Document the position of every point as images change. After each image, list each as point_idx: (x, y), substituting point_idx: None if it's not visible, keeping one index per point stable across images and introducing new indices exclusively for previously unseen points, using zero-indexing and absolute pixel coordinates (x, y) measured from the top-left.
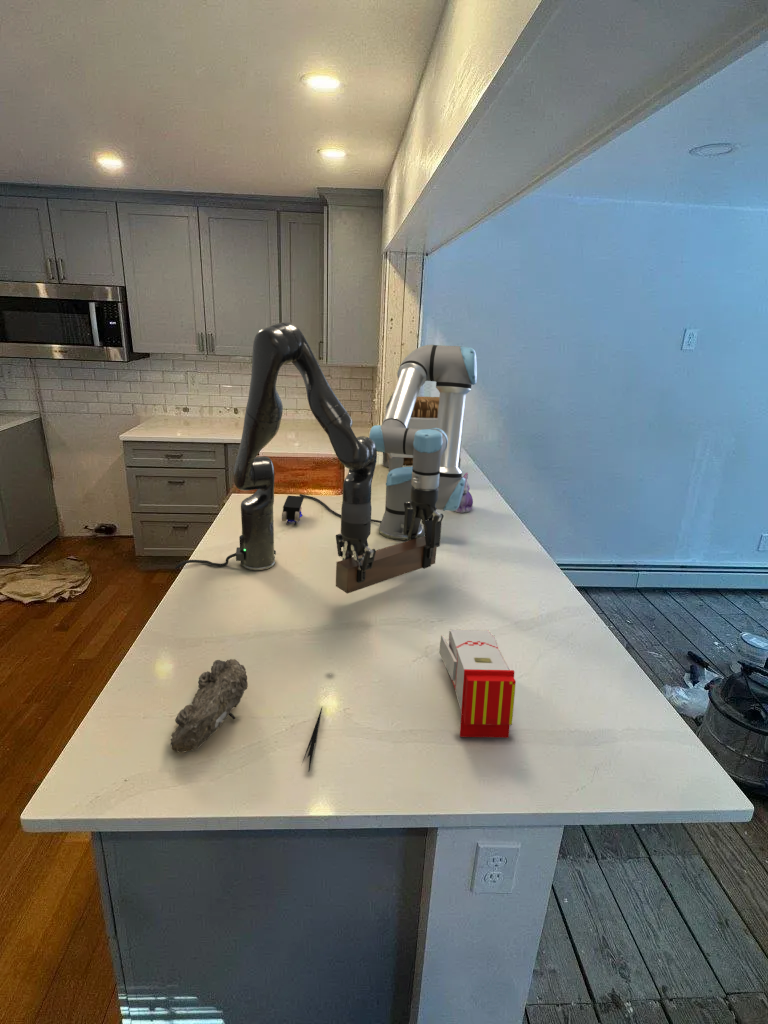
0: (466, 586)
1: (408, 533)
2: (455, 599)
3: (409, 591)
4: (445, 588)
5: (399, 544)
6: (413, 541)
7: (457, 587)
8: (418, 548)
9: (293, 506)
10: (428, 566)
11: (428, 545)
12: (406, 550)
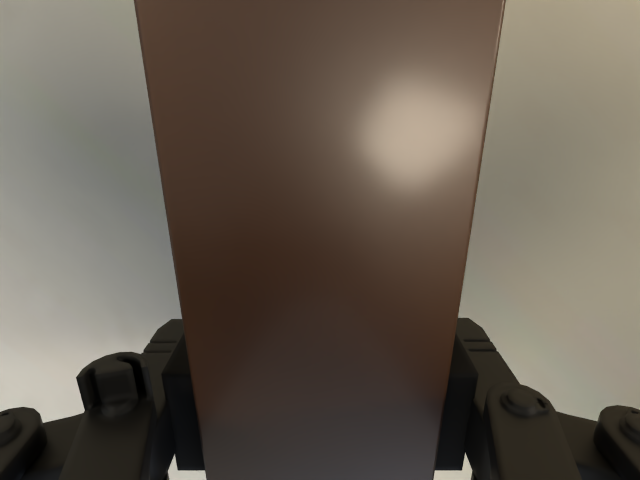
0: None
1: (568, 452)
2: (47, 249)
3: None
4: (176, 291)
5: (447, 101)
6: (385, 369)
7: None
8: (183, 285)
9: None
10: None
11: (92, 418)
12: (149, 11)
